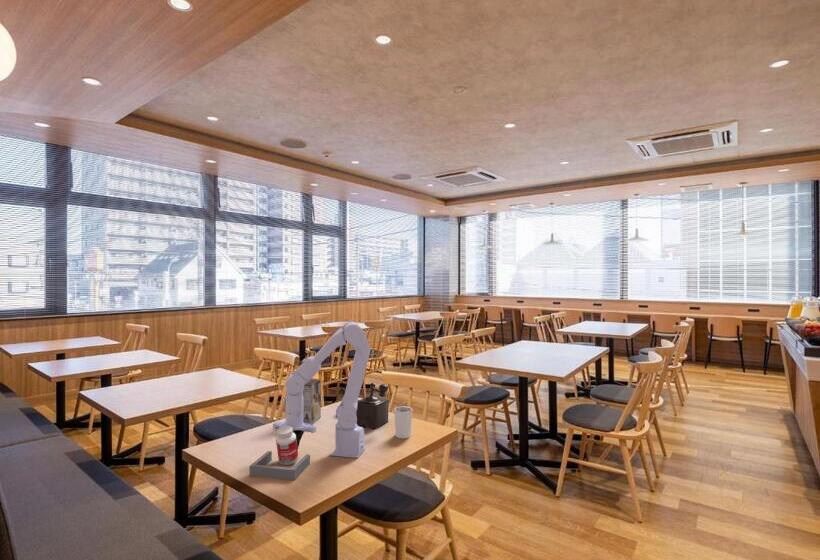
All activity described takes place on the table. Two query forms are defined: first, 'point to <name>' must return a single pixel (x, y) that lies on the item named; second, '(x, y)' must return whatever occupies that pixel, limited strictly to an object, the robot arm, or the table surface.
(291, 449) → the pill bottle
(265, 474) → the box
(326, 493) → the table surface
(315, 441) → the table surface
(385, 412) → the manual coffee grinder
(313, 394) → the coffee box
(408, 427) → the drinking glass
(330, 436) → the table surface
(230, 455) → the table surface
